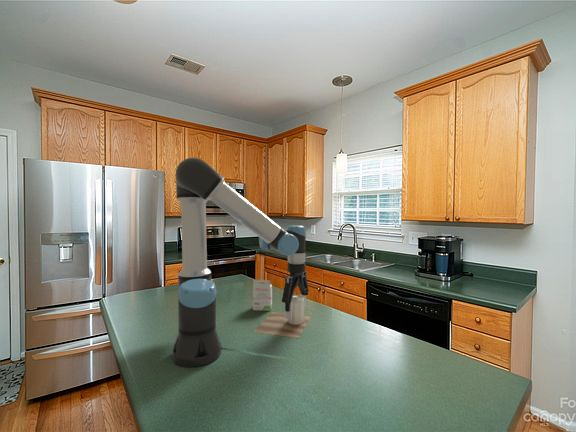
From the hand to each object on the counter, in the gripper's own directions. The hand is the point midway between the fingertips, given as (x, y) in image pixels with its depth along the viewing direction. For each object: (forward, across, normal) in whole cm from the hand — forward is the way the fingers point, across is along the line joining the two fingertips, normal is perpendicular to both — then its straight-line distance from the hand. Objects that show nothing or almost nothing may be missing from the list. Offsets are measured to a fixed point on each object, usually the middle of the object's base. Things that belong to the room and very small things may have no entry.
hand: (295, 314), depth 119 cm
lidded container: (+3, 0, 0) cm, 3 cm away
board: (+4, +5, -3) cm, 7 cm away
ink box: (+4, -5, -21) cm, 22 cm away
